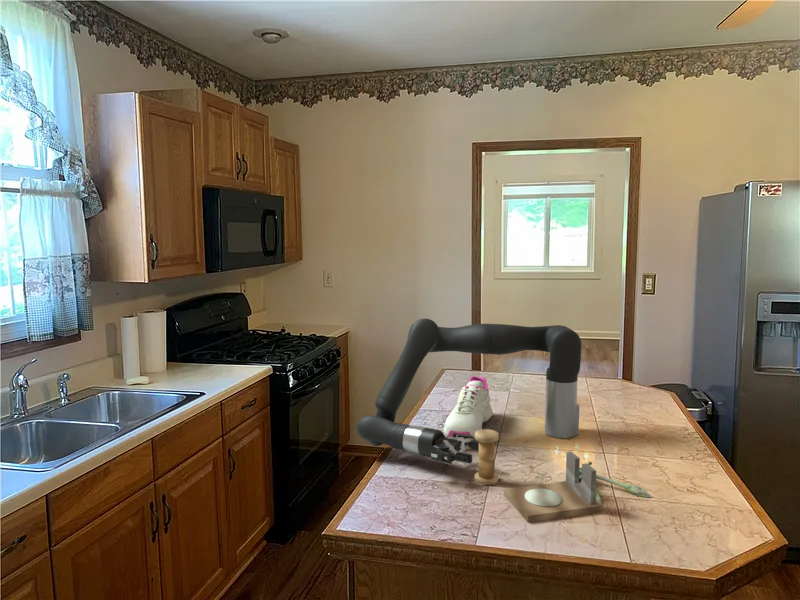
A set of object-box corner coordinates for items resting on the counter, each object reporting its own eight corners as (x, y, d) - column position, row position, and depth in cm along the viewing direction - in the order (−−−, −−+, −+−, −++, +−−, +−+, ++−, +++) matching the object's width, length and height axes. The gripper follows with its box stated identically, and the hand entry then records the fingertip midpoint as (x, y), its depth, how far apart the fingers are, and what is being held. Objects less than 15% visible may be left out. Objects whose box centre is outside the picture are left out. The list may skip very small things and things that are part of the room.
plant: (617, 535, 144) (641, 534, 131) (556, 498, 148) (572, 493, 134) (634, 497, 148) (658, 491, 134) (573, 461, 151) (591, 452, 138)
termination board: (571, 486, 143) (572, 449, 142) (600, 511, 130) (602, 472, 129) (503, 495, 139) (504, 457, 137) (527, 522, 126) (528, 481, 125)
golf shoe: (435, 448, 168) (435, 398, 166) (458, 411, 199) (458, 369, 197) (478, 452, 164) (478, 401, 162) (494, 414, 195) (495, 371, 193)
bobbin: (492, 473, 150) (493, 428, 149) (502, 484, 145) (502, 436, 143) (471, 476, 149) (471, 430, 147) (479, 486, 143) (480, 439, 141)
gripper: (409, 436, 149) (467, 448, 140) (435, 419, 161) (489, 430, 152) (410, 464, 150) (467, 478, 141) (435, 445, 162) (489, 457, 153)
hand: (478, 453), depth 147 cm, fingers open, 8 cm apart
